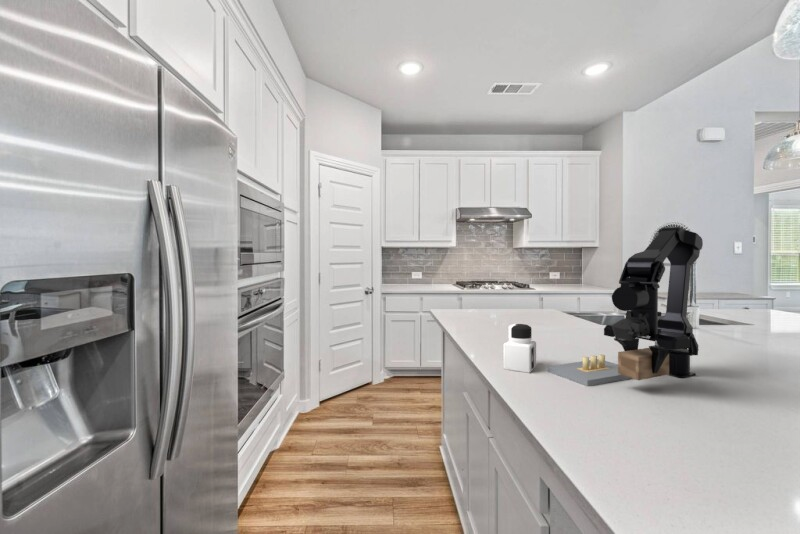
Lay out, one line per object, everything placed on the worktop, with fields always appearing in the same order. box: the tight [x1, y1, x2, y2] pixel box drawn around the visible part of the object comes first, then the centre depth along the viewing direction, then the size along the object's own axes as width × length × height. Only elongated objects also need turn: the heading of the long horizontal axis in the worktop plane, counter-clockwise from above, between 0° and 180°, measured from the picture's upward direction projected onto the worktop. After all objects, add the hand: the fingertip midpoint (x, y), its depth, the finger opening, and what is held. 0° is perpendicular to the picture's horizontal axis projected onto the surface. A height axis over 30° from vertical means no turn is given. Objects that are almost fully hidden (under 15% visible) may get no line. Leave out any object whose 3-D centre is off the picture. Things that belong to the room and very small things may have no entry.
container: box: [502, 323, 537, 374], centre depth 116 cm, size 8×8×13 cm
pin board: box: [547, 354, 633, 387], centre depth 109 cm, size 20×14×5 cm
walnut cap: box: [617, 347, 670, 381], centre depth 96 cm, size 11×5×6 cm, turn 112°
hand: (643, 370), depth 97 cm, fingers closed on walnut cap, 5 cm apart
